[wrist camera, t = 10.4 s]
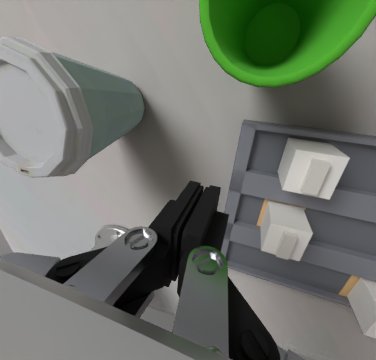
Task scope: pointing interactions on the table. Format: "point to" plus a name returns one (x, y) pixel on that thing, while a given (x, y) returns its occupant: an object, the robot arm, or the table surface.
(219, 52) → the cup
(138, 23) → the table surface
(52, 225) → the table surface
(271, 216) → the white stepped block
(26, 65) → the disposable coffee cup
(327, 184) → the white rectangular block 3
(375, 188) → the switch board
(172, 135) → the table surface
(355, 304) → the white stepped block
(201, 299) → the robot arm
